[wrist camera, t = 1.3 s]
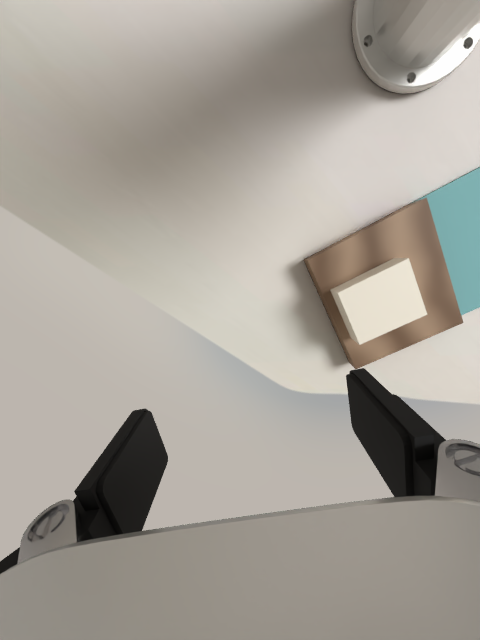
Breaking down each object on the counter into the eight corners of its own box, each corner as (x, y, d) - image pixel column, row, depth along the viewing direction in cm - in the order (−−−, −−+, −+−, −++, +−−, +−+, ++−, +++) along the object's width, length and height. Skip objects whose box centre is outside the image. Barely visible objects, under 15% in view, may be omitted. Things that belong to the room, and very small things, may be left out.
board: (413, 201, 27) (426, 197, 25) (449, 318, 31) (463, 322, 29) (303, 259, 29) (307, 260, 27) (349, 362, 33) (355, 369, 31)
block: (394, 257, 27) (408, 258, 24) (412, 309, 28) (427, 314, 26) (330, 289, 28) (337, 293, 26) (350, 337, 30) (359, 344, 27)
